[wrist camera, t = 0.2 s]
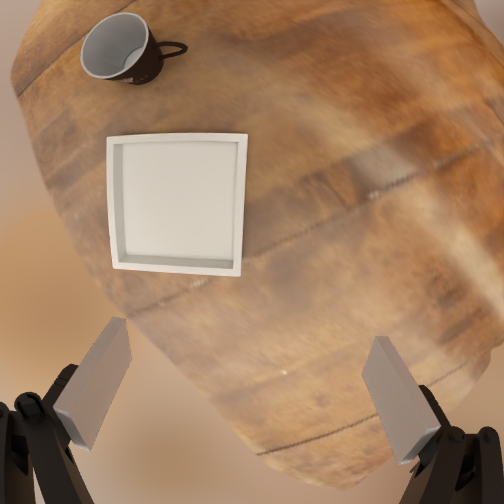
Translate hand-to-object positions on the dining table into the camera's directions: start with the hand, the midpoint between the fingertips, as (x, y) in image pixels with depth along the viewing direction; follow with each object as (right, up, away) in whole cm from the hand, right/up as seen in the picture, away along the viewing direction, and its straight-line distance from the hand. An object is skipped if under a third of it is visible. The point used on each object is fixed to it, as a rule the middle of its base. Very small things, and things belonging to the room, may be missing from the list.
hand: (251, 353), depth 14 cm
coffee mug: (-14, +30, +19) cm, 38 cm away
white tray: (-10, +12, +25) cm, 29 cm away
